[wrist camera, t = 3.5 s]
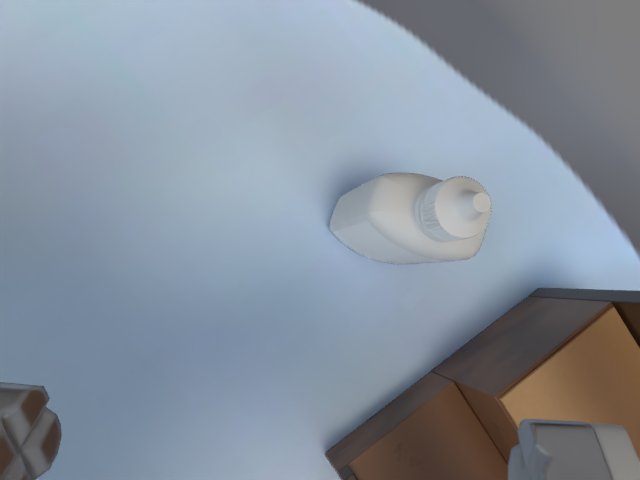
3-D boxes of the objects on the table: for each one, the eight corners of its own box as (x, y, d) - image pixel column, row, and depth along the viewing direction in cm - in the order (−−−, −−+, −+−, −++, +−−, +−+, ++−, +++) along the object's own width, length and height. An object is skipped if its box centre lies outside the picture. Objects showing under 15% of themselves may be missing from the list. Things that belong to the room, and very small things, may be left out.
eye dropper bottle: (380, 293, 31) (489, 302, 20) (316, 217, 31) (388, 180, 19) (434, 242, 32) (568, 222, 21) (372, 168, 32) (474, 104, 20)
